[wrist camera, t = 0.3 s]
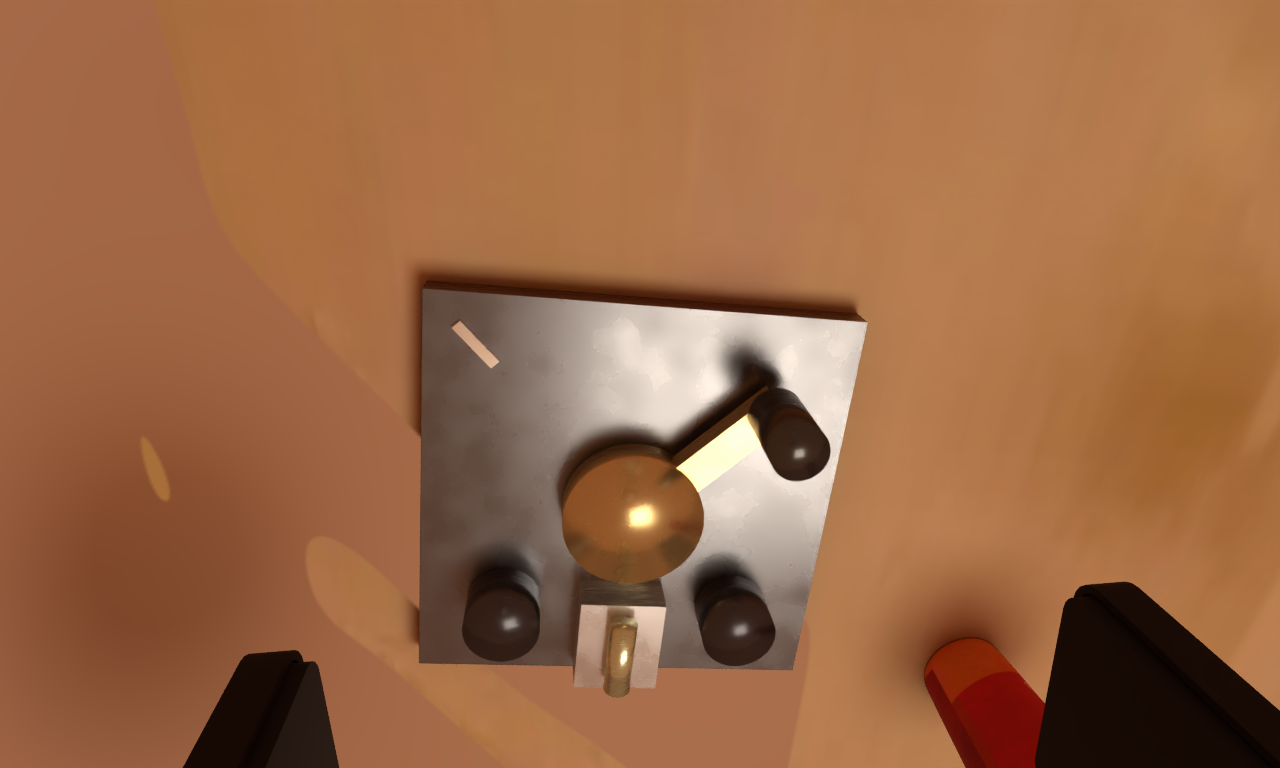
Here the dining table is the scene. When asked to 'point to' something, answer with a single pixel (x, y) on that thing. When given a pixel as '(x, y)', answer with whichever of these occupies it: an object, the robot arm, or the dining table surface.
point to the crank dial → (677, 487)
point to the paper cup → (985, 705)
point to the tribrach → (586, 424)
